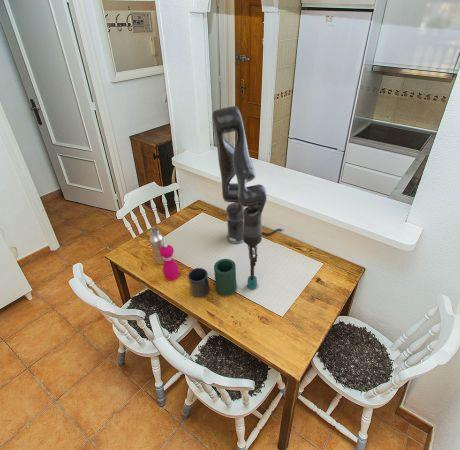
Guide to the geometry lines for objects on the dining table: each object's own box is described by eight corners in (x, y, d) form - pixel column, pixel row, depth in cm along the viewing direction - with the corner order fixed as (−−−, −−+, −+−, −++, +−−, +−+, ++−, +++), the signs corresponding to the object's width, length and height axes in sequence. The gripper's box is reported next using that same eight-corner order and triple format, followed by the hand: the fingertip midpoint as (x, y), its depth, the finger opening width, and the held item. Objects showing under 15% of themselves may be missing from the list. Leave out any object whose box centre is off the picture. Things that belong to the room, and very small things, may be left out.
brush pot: (202, 280, 148) (200, 265, 142) (213, 291, 143) (211, 275, 137) (187, 289, 144) (184, 274, 138) (197, 300, 139) (194, 285, 133)
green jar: (228, 277, 150) (226, 255, 141) (240, 289, 144) (239, 266, 136) (212, 287, 145) (209, 265, 137) (224, 299, 139) (222, 277, 131)
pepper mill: (182, 272, 153) (176, 240, 141) (175, 283, 147) (168, 250, 135) (169, 269, 155) (162, 237, 143) (161, 279, 149) (153, 247, 137)
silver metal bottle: (165, 267, 156) (158, 235, 144) (152, 265, 157) (144, 233, 145) (170, 258, 161) (164, 226, 149) (158, 256, 162) (150, 225, 150)
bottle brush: (252, 281, 147) (252, 244, 134) (258, 286, 145) (259, 249, 131) (246, 285, 145) (245, 249, 132) (251, 290, 143) (251, 253, 129)
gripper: (264, 241, 120) (263, 273, 131) (259, 219, 132) (259, 250, 142) (244, 243, 120) (245, 274, 130) (241, 220, 131) (242, 251, 142)
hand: (252, 262), depth 136 cm, fingers open, 3 cm apart
